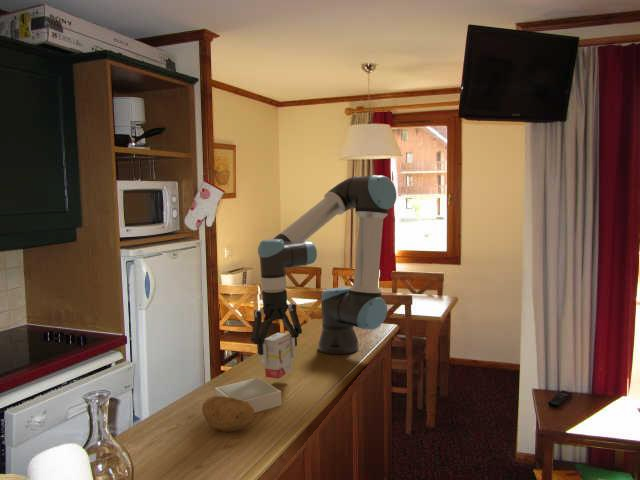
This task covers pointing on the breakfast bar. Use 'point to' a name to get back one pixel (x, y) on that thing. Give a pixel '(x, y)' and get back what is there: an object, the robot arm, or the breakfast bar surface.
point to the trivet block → (252, 393)
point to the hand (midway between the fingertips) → (278, 360)
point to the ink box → (278, 355)
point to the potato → (227, 413)
